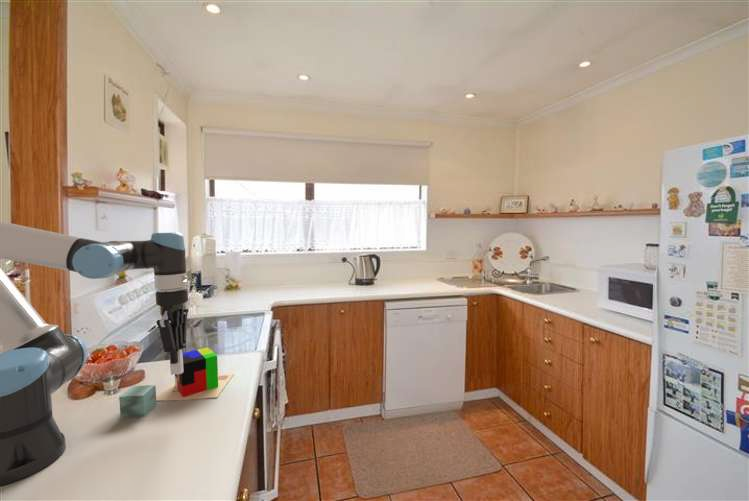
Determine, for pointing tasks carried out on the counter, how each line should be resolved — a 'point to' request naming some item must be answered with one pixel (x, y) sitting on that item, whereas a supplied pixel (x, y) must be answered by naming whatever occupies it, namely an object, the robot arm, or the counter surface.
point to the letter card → (173, 393)
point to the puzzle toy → (197, 372)
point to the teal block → (137, 401)
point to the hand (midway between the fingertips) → (177, 373)
